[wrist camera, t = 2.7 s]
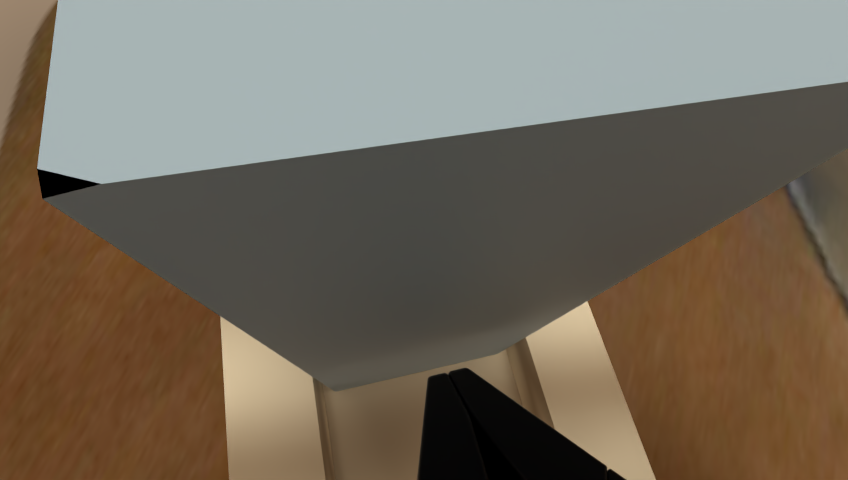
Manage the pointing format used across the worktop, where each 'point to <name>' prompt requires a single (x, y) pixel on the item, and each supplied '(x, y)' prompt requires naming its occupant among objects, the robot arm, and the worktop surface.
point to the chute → (416, 408)
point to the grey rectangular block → (426, 154)
